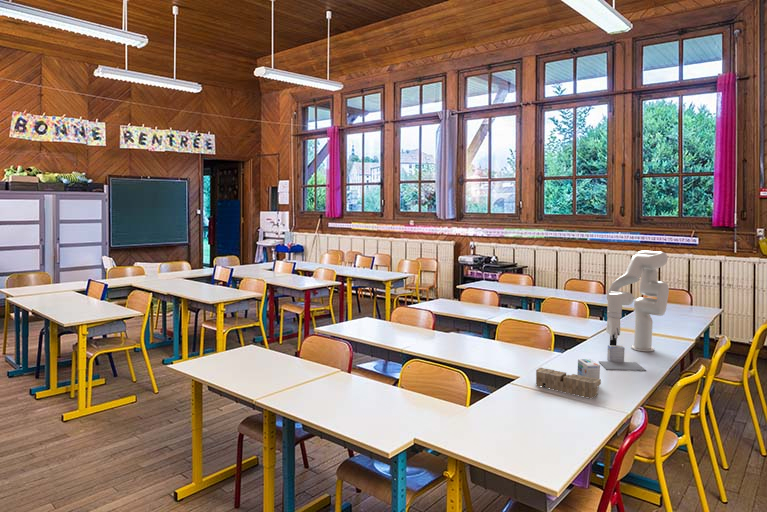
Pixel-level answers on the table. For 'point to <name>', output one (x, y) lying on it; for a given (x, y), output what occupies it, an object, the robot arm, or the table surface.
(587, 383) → the brown segmented bar
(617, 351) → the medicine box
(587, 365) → the light bulb box
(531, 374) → the table surface
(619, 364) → the mat
